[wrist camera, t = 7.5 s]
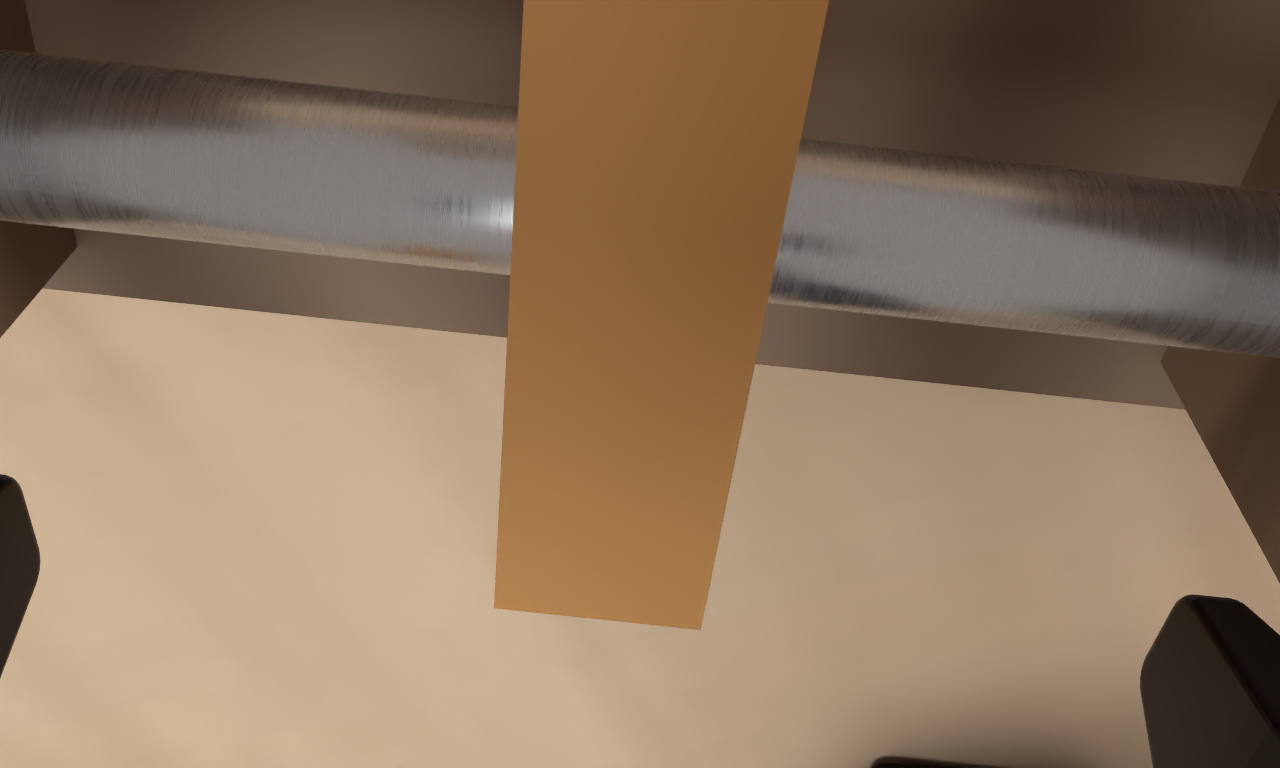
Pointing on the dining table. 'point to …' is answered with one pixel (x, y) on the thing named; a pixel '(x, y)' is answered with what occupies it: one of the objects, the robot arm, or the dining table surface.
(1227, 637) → the robot arm
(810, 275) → the hook rod
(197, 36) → the hook stand
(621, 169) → the wooden bracket
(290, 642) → the dining table surface
